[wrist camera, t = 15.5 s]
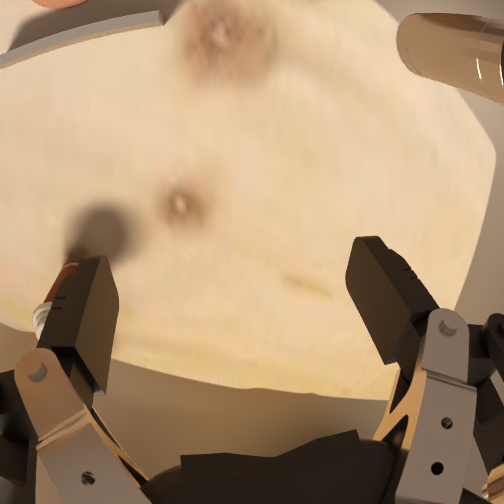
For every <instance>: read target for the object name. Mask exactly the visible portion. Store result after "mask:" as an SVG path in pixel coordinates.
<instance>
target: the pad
mask: <svg viewBox="0 0 504 504" xmlns="http://www.w3.org/2000/svg"><path fill="white" fill-rule="evenodd" d="M33 1H34V2H35V3H37V4H38V5H41V6H43V7H48V8H55V9H60V8H68V7H72V6H76V5H79V4H81V3H84V2H86V1H88V0H33Z"/></svg>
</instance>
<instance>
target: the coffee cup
mask: <svg viewBox="0 0 504 504" xmlns="http://www.w3.org/2000/svg"><path fill="white" fill-rule="evenodd" d="M78 264H79V263H75V262H71V263H69V264H66V265H65V266H64V267H63V268H62V269H61V271H60V273H59V275H58V277H57V279H56V280H55V282H54V284H53V286H52V288H51V289H50V291H49V293H48V295H47V297H46V299H45V301H44V303H43V304H40V305H39V306H38V307H37V308H36V309H35V310H34V312H33V317H32V324H33V326H34V329H35V331H36V336H37V338H38V340H39V338H40V335H41V332H42V329H43V326H44V324H45V321H46V318H47V315H48V312H49V310H51V308H50V307H51V304H52V302H53V300H54V299H55V298H54V297H55V294H56V292H57V289H58V287H59V285H60V283H61V282H62V281H63V280H64V279H65V278H66V277H67V275H68V274H71V273H75V272H76V269H77V267H78Z"/></svg>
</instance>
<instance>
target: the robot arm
mask: <svg viewBox="0 0 504 504" xmlns="http://www.w3.org/2000/svg"><path fill="white" fill-rule="evenodd" d="M397 48H398V51H399V55H400V57H401V59H402V61H403V62H404V64H405V65H406V67H407V68H408V69H409V70H410V71H411V72H413V73H415V74H416V75H419V76H421V77H425V78H428V79H432V80H435V81H438V82H441V83H444V84H447V85H451V86H454V87H457V88H460V89H463V90H465V91H468V92H471V93H474V94H477V95H479V96H482V97H484V98H487V99H489V100H492V101H494V102H497V103H499V104H502V105H504V20H500V19H493V18H485V17H481V16H474V15H461V14H447V13H446V14H445V13H432V14H431V13H415V14H412V15H409V16H408V17H406V18H405V19H404V20H403V21H402V23H401V24H400V26H399V29H398V33H397ZM345 280H346V287H347V290H348V292H349V294H350V296H351V298H352V300H353V302H354V304H355V306H356V308H357V310H358V311H359V313H360V315H361V317H362V319H363V321H364V323H365V325H366V327H367V329H368V331H369V334H370V336H371V338H372V340H373V342H374V344H375V346H376V348H377V350H378V352H379V354H380V356H381V358H382V360H383V363H384V365H387V364H391V363H395V362H398V364H399V366H400V368H399V369H398V371H397V373H396V377H395V381H394V384H393V388H392V391H391V395H390V398H389V402H388V405H387V409H386V412H385V415H384V418H383V420H382V422H381V424H380V426H379V428H378V430H377V431H376V433H375V435H374V437H373V440H372V439H359V436H358V433H357V431H356V429H355V430H351V431H347V432H344V433H339V434H335V435H331V436H327V437H322V438H318V439H315V440H313V441H311V442H309V443H306V444H304V445H302V446H300V447H298V448H295V449H293V450H291V451H289V452H286V453H284V454H282V455H279V456H276V457H260V456H249V455H240V454H232V453H214V454H199V455H181V456H180V457H181V465H178V466H174V467H172V468H170V469H167V470H164V471H163V472H161V473H159V474H157V475H155V476H154V477H153V478H151V479H150V480H149V479H148V478H147V477H146V476H145V475H144V473H143V472H142V471H141V470H140V469H139V468H138V467H137V465H136V464H135V463H134V462H133V461H132V460H131V459H130V458H129V456H128V455H127V454H126V453H125V451H124V450H123V449H122V447H121V446H120V445H119V443H118V442H117V441H116V440H115V438H114V437H113V435H112V434H111V432H110V431H109V429H108V428H107V427H106V425H105V424H104V422H103V421H102V419H101V418H100V416H99V415H98V413H97V412H96V410H95V409H94V407H93V406H92V403H93V396H94V395H106V388H107V380H108V373H109V365H110V359H111V352H112V346H113V340H114V334H115V328H116V322H117V317H118V312H119V296H118V292H117V288H116V285H115V282H114V279H113V276H112V273H111V269H110V266H109V263H108V260H107V258H106V256H105V255H97V256H85V257H82V258H81V260H80V262H79V264H78V267H77V269H76V272H75V273H71V274H68V275H67V277H66V278H65V279H64V280H63V281H62V282H61V283H60V285H59V287H58V289H57V292H56V294H55V297H54V298H55V299H54V300H53V302H52V304H51V307H50V308H51V310H49V312H48V315H47V318H46V321H45V324H44V326H43V329H42V332H41V335H40V338H39V341H38V344H37V348H36V349H33V350H30V351H28V352H27V353H25V354H24V355H23V356H22V357H21V358H20V359H19V361H18V362H17V365H16V367H15V369H14V370H10V371H7V372H3V373H0V504H35V487H36V484H35V483H36V462H37V452H38V454H39V456H40V459H41V461H42V463H43V465H44V466H45V468H46V470H47V472H48V474H49V476H50V478H51V479H52V481H53V483H54V485H55V486H56V488H57V490H58V492H59V493H60V495H61V497H62V498H63V500H64V501H65V503H66V504H504V406H503V403H502V401H501V399H500V397H499V395H498V393H497V391H496V389H495V387H494V385H493V383H492V381H491V379H490V377H491V376H492V375H493V374H494V373H495V371H496V370H498V372H499V374H500V376H501V378H502V380H503V382H504V315H503V314H499V313H495V314H492V315H490V317H489V318H488V319H487V321H486V323H485V324H484V325H473V324H467V323H466V322H465V320H464V319H463V318H462V317H461V316H460V315H459V314H458V313H456V312H454V311H452V310H449V309H445V308H440V307H439V306H438V305H437V303H436V302H435V300H434V299H433V297H432V296H431V295H430V293H429V292H428V290H427V289H426V288H425V286H424V285H423V283H422V282H421V281H420V279H418V278H417V275H416V274H415V273H414V271H413V270H411V267H410V266H409V265H408V263H407V262H406V261H405V259H404V258H403V257H402V256H400V255H399V254H397V253H396V252H395V251H393V250H392V249H388V247H387V246H386V245H385V244H384V242H383V241H382V240H381V238H380V237H379V236H364V237H356V238H355V239H354V242H353V245H352V250H351V254H350V258H349V262H348V266H347V270H346V276H345ZM472 436H474V438H475V441H476V443H477V446H478V448H479V451H480V454H481V456H482V459H483V462H484V465H485V468H486V471H487V473H488V476H489V477H488V482H487V483H486V484H485V485H484V486H483V488H482V495H483V497H484V498H486V499H488V501H487V500H485V499H483V498H481V497H479V496H478V495H476V494H474V493H472V492H470V491H469V490H467V489H465V488H463V484H464V480H465V475H466V470H467V465H468V460H469V455H470V448H471V442H472ZM38 438H39V441H40V442H38Z"/></svg>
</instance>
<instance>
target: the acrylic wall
mask: <svg viewBox="0 0 504 504" xmlns="http://www.w3.org/2000/svg"><path fill="white" fill-rule="evenodd" d="M156 26H164V15H163V14H162V13H161V12H160V11H159V10H156V11H149V12H143V13H137V14H132V15H126V16H121V17H116V18H112V19H107V20H103V21H99V22H95V23H91V24H87V25H83V26H80V27H76V28H73V29H69V30H66V31H63V32H59V33H56V34H53V35H50V36H47V37H44V38H42V39H39V40H36V41H33V42H31V43H28V44H26V45H23V46H20V47H18V48H16V49H13V50H11V51H8V52H6V53H4V54H2V55H0V69H3V68H6V67H8V66H11V65H13V64H16V63H18V62H21V61H23V60H26V59H29V58H31V57H34V56H37V55H40V54H43V53H46V52H49V51H52V50H55V49H58V48H61V47H65V46H68V45H71V44H75V43H79V42H82V41H86V40H90V39H94V38H98V37H102V36H107V35H111V34H116V33H121V32H126V31H132V30H137V29H143V28H150V27H156Z"/></svg>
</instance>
